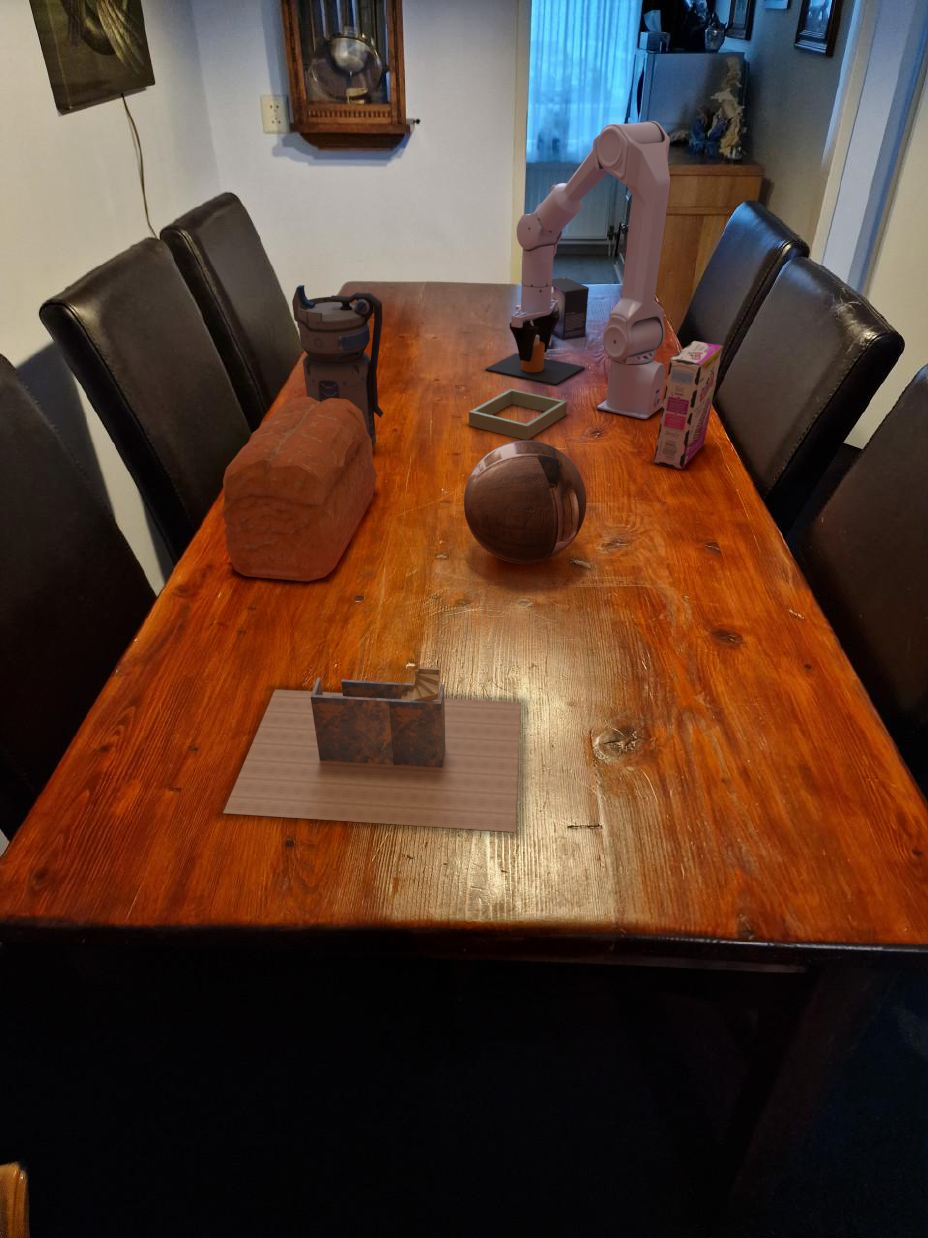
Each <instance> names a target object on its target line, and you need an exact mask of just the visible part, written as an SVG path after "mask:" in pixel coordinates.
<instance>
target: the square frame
mask: <svg viewBox="0 0 928 1238" xmlns="http://www.w3.org/2000/svg"><path fill="white" fill-rule="evenodd" d="M511 405H513V406H514V405H515V406H518V407H522V408H527V409H532V410H536V411H540V412H543V413H541V414H539V415H538V416H537V417H535V418H533V419H532V420H530V421H528V422H527V423H524V422H521V421H517V420H512V419H508V418H504V417H500V416H496V415H495V414H497V413H498V412H500V411H502V410H503V409H506V408H507V407H509V406H511ZM567 407H568V401H566V400H564V399H563V400H562V399H557V398H553V397H549V396H545V395H540V394H535V393H531V392H527V391H523V390H522V391H521V390H518V389H513V388H509V389H508V390H505V391H504V392H502V393H500V394H499V395H497V396H495V397H493V398H492V399H491V398H490V400H487V401H485V402H484V403H482V404H480V405H479V406H477V407H475V408H473V409H472V410H469V411H468V426H469V427H473V428H476V429H480V430H485V431H489V432H492V433H496V434H501V435H504V436H507V437H512V438H516V439H519V440H522V441H530V439H532V438H533V437H535V436H537V435H538V434H539V433H541V432H542V431H544V430H545V429H547V428H548V427H550V426H551V425H553V424H554V423H556V422H558V421H559V420H561V419H562V418H564V417H565V416H567Z"/></svg>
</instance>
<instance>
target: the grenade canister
mask: <svg viewBox="0 0 928 1238" xmlns="http://www.w3.org/2000/svg"><path fill="white" fill-rule="evenodd" d="M305 286H306V285H304V284H301V285H297V286H296V289H295V292H294V294H293V297H292V300H291V302H292V303H291V305H292V313H293V320H294V322H296V324H297V329H298V334H299V341H300V347H301V349H302V350H303V351H304V352H305V353H306V355H305V357H304V358H303V360H302V367H303V374H304V377H303V378H304V384H305V392H306V397H311V398H313V399H315V400H317V401H319V402H322V401H324V400H326V399H329V398H337V399H348V400H349V401H350V402H352V403H353V404H354V405H355V406H356V407H358V408H359V409H360V410H361V411H362V414H363V417H364V420H365V423H366V429H367V433H368V434H369V436H370V438H371V439H372V450H373V449H374V447H375V444H376V443H377V435H376V422H375V415H377V416H378V417H379V418H380V419H382V417H383V415H384V411H383V410H382V409H381V407H380V406H379V396H378V394H379V393H378V392H379V391H378V374H377V372H378V365H379V355H380V353H379V352H380V345H381V337H382V329H383V328H382V327H383V320H384V319H383V318H384V317H383V302H382V301H381V299H379V298H378V297H376V296H375V295H374V294H372V293H371V292H355V293H354V294H352V295H334V294H333V295H330V296H322V297H314V298H310V299H308V297H307V296H306V292H305ZM354 301H356V302H355V304H353V302H354ZM372 316H373V329H372V341H371V349H370V350H371V352H370V355H369V354H368V353H367V352H365V351H366V349H367V347H368V345H369V343H370V340H371V331H370V325H369V323H368V322H369V320H370V319H371V317H372Z"/></svg>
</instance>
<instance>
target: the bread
mask: <svg viewBox="0 0 928 1238" xmlns="http://www.w3.org/2000/svg"><path fill="white" fill-rule="evenodd" d="M373 459H374V458H373V449H372V439H371V438H370V436H369V434H368V433H367V429H366V423H365V420H364V417H363V414H362V411H361V410H360V409H359V408H358V407H356V406H355V405H354V404H353V403H352V402H350V401H349V400H348V399H337V398H329V399H326V400H324V401H322V402H319V401H317V400H315V399H313V398H311V397H307V396H300V397H295V398H293V399H291V400H289V401H288V402H287V403H285V404H284V405H282V407H280V408H279V410H277V412H275V413H274V414H273V415H272V416H271V417H270V418H269V419H267V420H265V421H264V422H262V423H261V424H260V427H259V428H258V429H256V430H254V432H252V433H251V436H250V437H249V440H248V442H247V443H246V444H245V445H243V446H242V447H241V448H240V450H239V451H238V452H237V454H236V455H235V457H234V458H233V459H232V461H230V463H229V464H228V466H227V467H225V471H224V476H223V479H222V485H223V496H224V498H223V506H222V512H221V514H222V517H223V520H224V523H225V530H224V535H225V542H226V543H225V545H226V551H227V554H228V556H229V559H230V561H231V563H232V566H233V569H234V571H236V572H237V573H238V574H240V575H242V576H244V577H251V578H252V577H253V578H262V579H273V580H283V581H284V580H286V581H296V582H311V581H316V580H320V579H324V578H326V577H327V576H328V575H329V574H330V573H331V572H332V571H334V569H335V568H336V567H337V565H338V563H339V561H340V559H341V558H342V556H343V554H344V552H345V550H346V549H347V547H348V545H349V543H350V542H351V541H352V538H353V536H354V535H355V533H356V531H357V528H358V526H360V525H359V524H360V522H361V521H362V520H363V519H362V518H363V517H364V515H365V513H366V511H367V509H368V507H370V504H371V502H372V501H373V497H374V494H375V493H374V492H375V488H376V487H375V486H376V483H377V477H378V474H377V471H376V469H375V467H374V460H373Z"/></svg>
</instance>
